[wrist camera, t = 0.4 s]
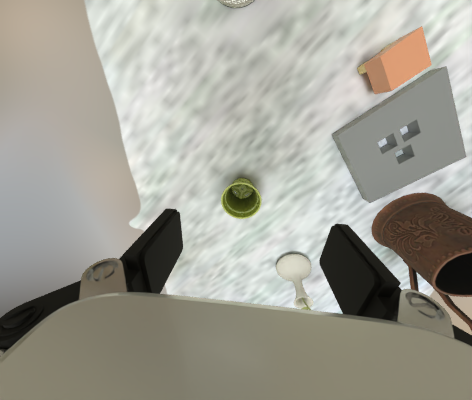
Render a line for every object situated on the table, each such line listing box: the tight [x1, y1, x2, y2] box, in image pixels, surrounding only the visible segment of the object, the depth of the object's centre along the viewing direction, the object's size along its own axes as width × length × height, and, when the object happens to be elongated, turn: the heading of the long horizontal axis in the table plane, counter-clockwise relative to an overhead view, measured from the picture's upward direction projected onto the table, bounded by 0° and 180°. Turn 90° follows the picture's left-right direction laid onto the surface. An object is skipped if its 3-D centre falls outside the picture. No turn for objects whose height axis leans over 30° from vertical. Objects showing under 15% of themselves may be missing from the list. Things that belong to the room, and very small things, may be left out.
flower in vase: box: [276, 254, 313, 310], centre depth 47 cm, size 13×11×25 cm
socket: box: [332, 67, 466, 203], centre depth 38 cm, size 20×20×3 cm
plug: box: [357, 26, 431, 94], centre depth 31 cm, size 6×6×7 cm
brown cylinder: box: [372, 193, 472, 330], centre depth 38 cm, size 18×24×25 cm
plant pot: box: [221, 178, 261, 219], centre depth 44 cm, size 9×9×9 cm
